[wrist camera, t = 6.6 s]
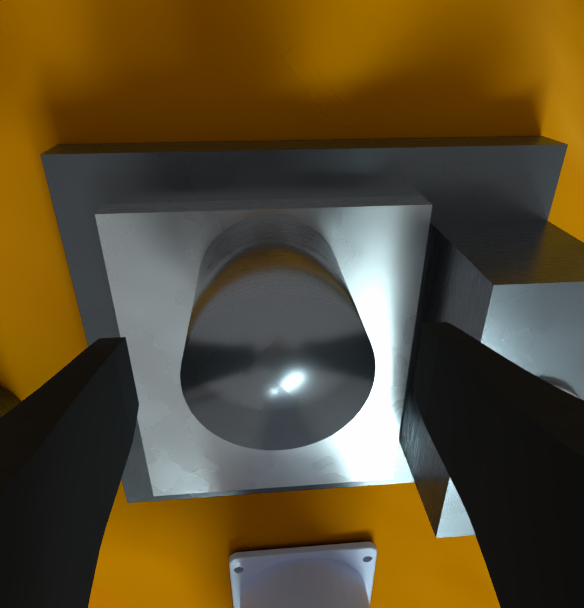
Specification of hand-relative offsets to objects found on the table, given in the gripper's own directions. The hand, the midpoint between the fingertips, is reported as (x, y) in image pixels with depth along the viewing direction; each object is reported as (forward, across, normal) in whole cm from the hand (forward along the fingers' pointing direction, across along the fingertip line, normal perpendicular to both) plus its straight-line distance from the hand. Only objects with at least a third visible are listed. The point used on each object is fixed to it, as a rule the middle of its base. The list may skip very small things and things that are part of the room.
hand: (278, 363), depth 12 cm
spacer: (+4, 0, 0) cm, 4 cm away
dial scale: (+7, -2, +3) cm, 8 cm away
